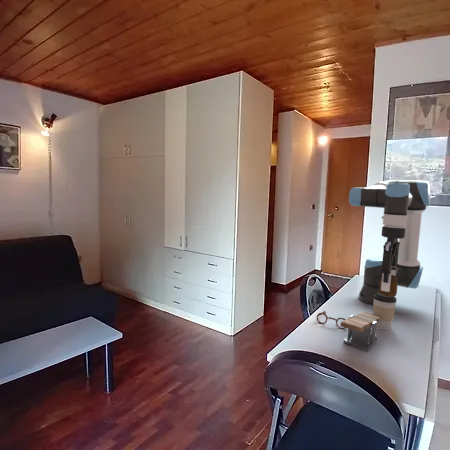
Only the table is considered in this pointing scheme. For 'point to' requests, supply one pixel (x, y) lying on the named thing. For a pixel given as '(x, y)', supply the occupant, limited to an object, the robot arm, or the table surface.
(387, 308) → the coffee cup
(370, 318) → the beam
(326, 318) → the glasses
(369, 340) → the stand
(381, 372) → the table surface
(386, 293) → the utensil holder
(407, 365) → the table surface
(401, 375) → the table surface
